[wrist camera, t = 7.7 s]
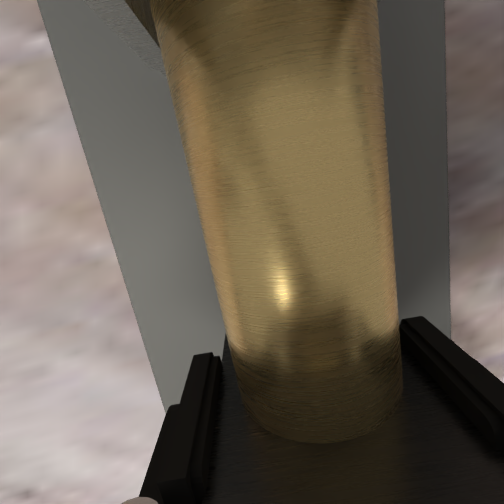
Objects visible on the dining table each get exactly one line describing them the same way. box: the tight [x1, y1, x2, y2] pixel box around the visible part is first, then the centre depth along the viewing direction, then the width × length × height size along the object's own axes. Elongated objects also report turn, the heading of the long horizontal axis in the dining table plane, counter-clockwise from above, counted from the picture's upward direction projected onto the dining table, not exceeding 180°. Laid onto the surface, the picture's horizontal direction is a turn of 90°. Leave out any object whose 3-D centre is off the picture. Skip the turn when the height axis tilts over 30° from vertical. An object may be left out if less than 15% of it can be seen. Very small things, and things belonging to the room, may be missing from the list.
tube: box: [149, 0, 504, 504], centre depth 7 cm, size 18×5×6 cm, turn 11°
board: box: [37, 0, 451, 413], centre depth 12 cm, size 28×13×1 cm, turn 11°
